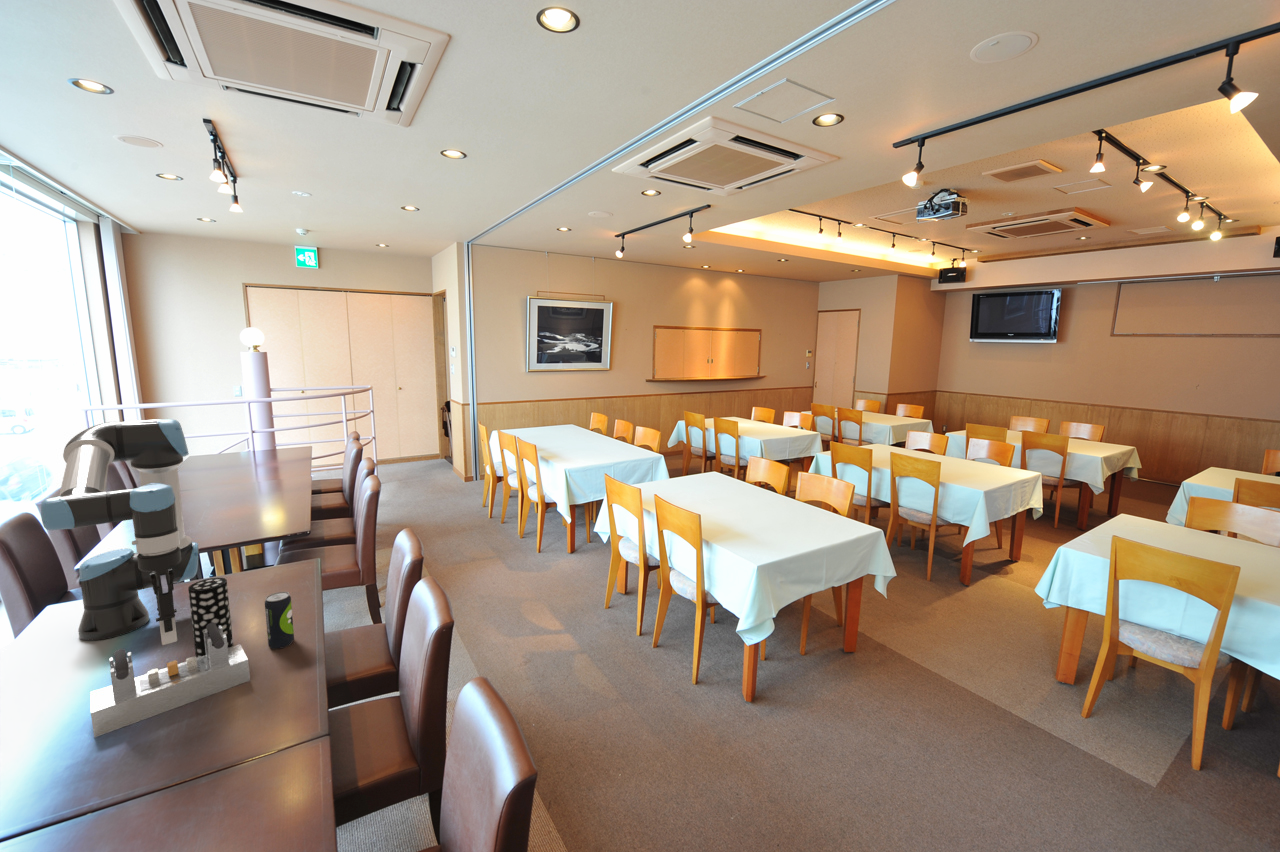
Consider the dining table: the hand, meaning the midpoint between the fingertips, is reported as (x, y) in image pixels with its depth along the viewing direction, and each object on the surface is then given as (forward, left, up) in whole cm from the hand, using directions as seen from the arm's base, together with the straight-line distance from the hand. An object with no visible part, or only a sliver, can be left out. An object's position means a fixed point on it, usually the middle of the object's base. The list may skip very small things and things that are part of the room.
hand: (169, 641), depth 125 cm
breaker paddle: (0, 0, -9) cm, 9 cm away
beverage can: (-9, +24, -15) cm, 30 cm away
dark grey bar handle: (0, -9, -3) cm, 9 cm away
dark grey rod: (0, +8, -3) cm, 9 cm away
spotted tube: (-19, +10, -15) cm, 26 cm away
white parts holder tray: (0, 0, -15) cm, 15 cm away
